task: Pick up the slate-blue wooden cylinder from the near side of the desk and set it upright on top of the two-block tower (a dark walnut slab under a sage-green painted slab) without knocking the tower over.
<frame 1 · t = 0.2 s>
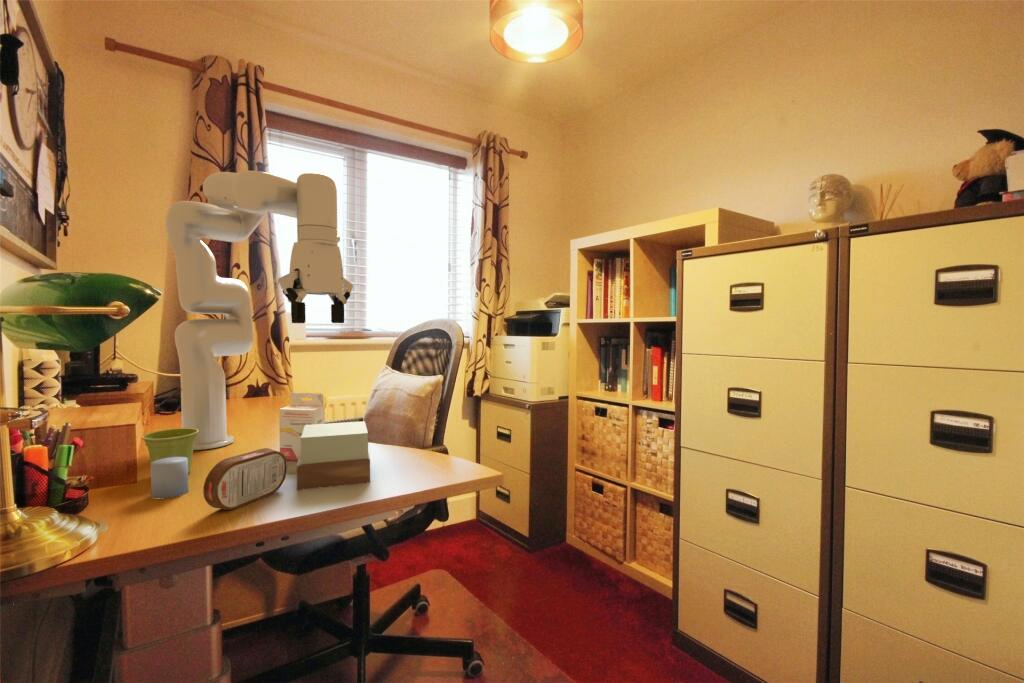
hand: (319, 323, 99), 31 cm above the table, tool pointing down, fingers open, 9 cm apart
walnut base block: (334, 477, 99), on the table, touching sage top block
ink cartridge box: (302, 459, 111), on the table
sage top block: (335, 453, 99), point 5 cm above the table, touching walnut base block
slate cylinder: (170, 493, 88), on the table
plant pot: (172, 476, 99), on the table
tin: (249, 502, 85), on the table
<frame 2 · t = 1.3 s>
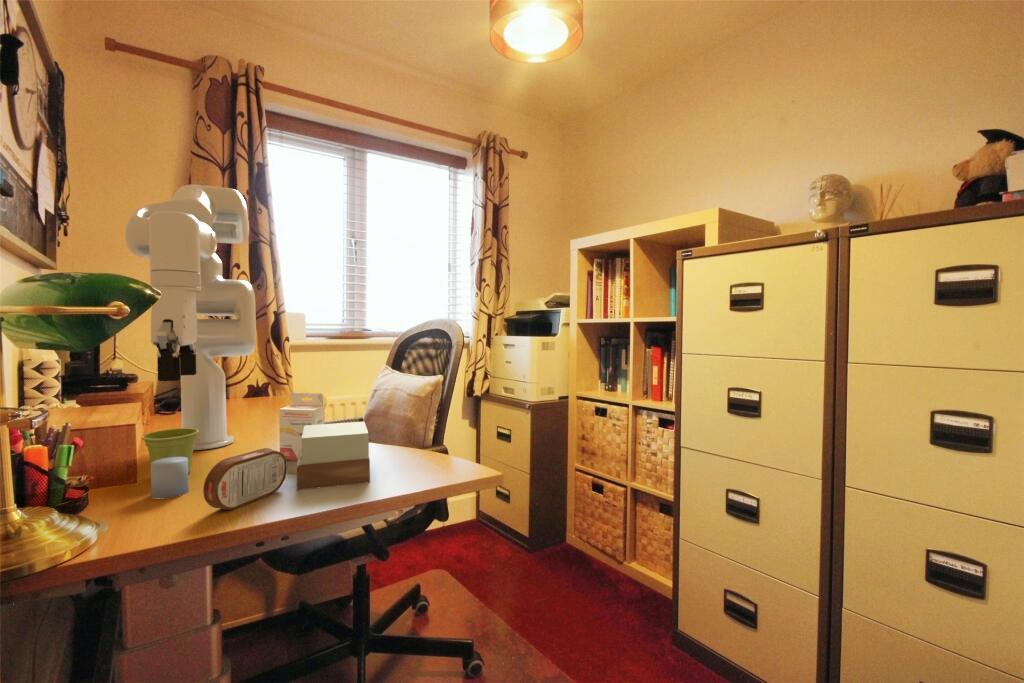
hand: (178, 377, 88), 21 cm above the table, tool pointing down, fingers open, 9 cm apart
nothing on the table moved.
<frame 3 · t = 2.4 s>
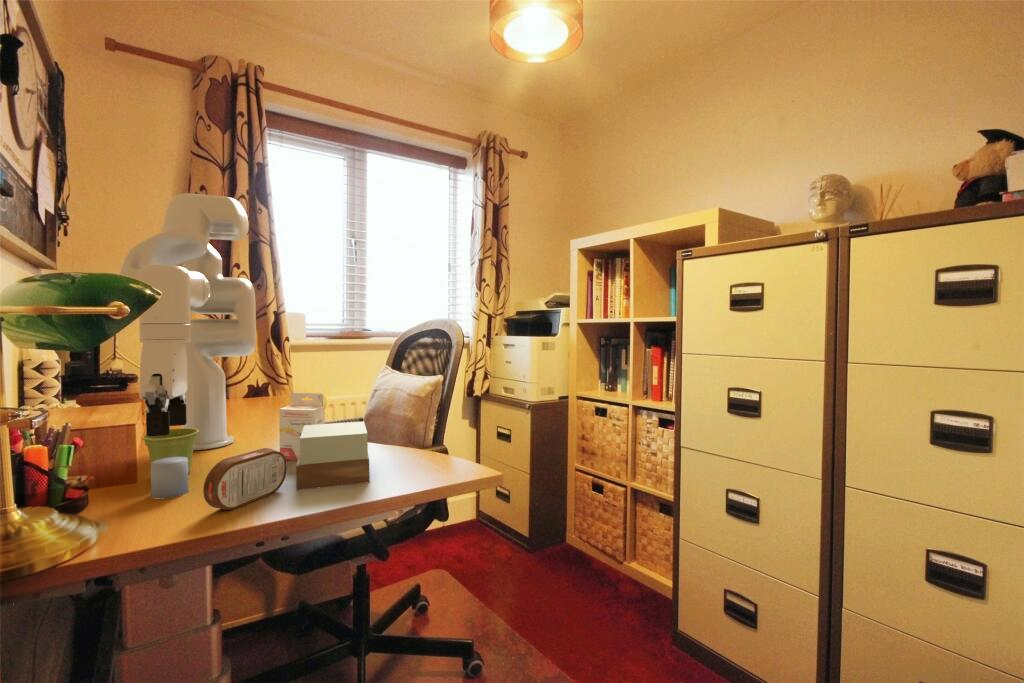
hand: (167, 430, 87), 12 cm above the table, tool pointing down, fingers open, 9 cm apart
nothing on the table moved.
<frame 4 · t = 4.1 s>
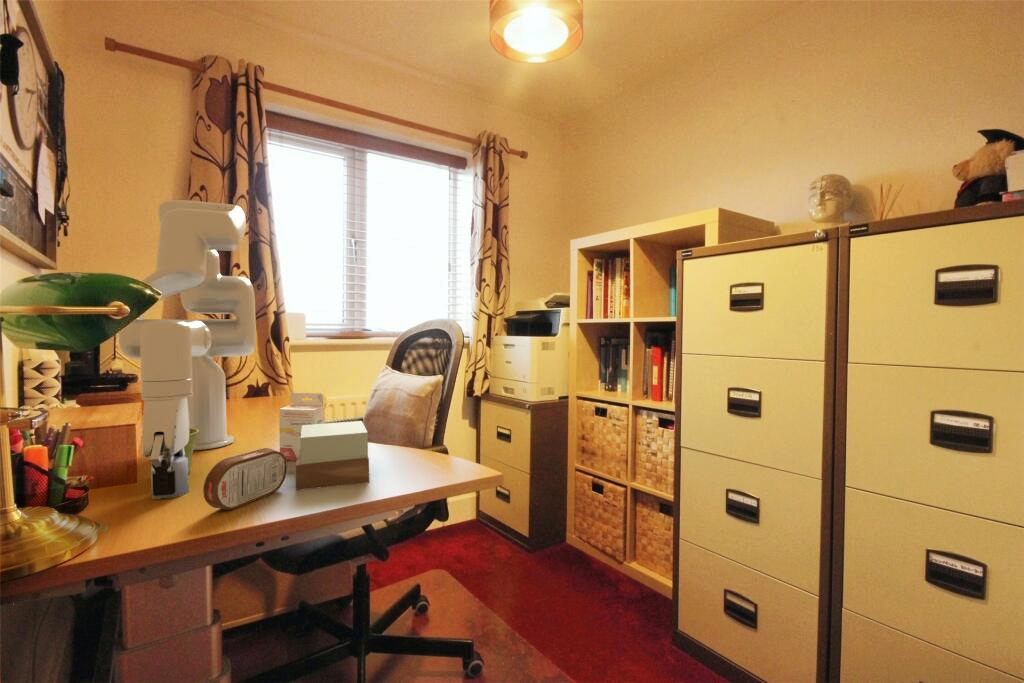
hand: (170, 487, 88), 1 cm above the table, tool pointing down, fingers closed on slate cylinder, 5 cm apart
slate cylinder: (170, 493, 88), on the table, touching gripper
everything else where it was.
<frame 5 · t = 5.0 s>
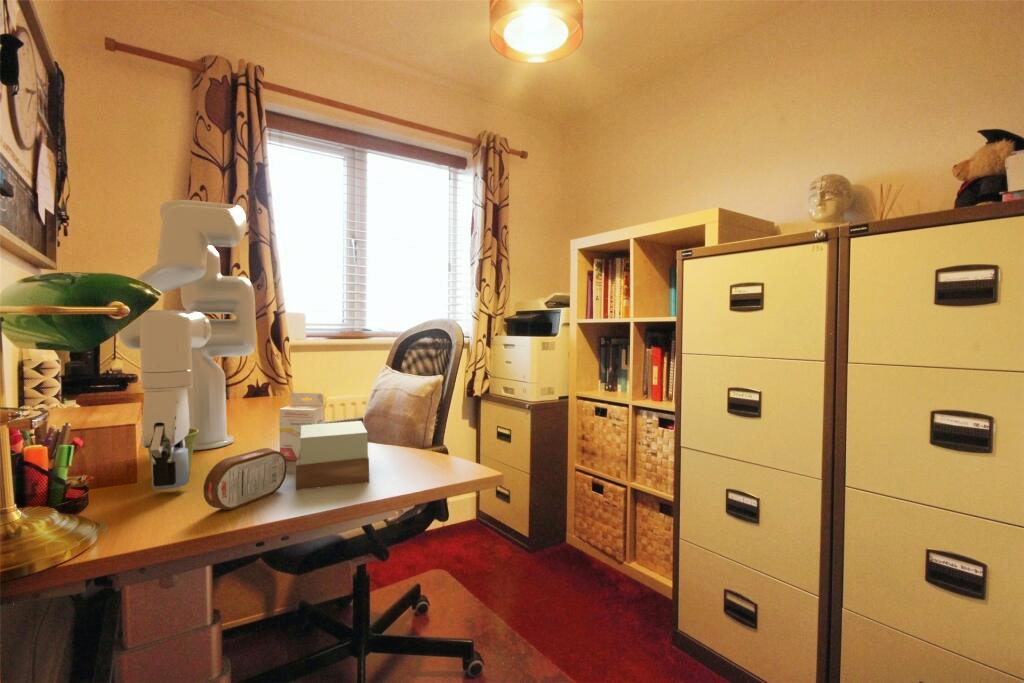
hand: (170, 478, 89), 3 cm above the table, tool pointing down, fingers closed on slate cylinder, 5 cm apart
walnut base block: (333, 477, 99), on the table
sage top block: (333, 453, 98), point 5 cm above the table
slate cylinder: (170, 484, 89), point 2 cm above the table, touching gripper
everything else where it was.
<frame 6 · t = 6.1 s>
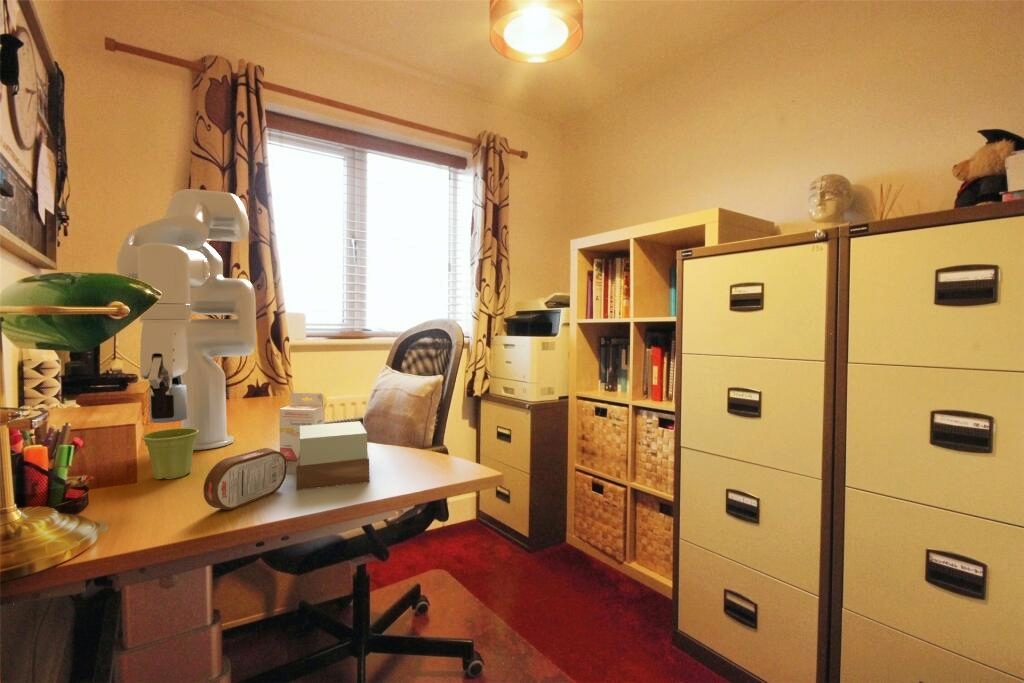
hand: (168, 413, 88), 15 cm above the table, tool pointing down, fingers closed on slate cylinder, 5 cm apart
walnut base block: (333, 477, 99), on the table, touching sage top block
sage top block: (332, 454, 98), point 5 cm above the table, touching walnut base block
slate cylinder: (169, 419, 88), point 13 cm above the table, touching gripper
everything else where it was.
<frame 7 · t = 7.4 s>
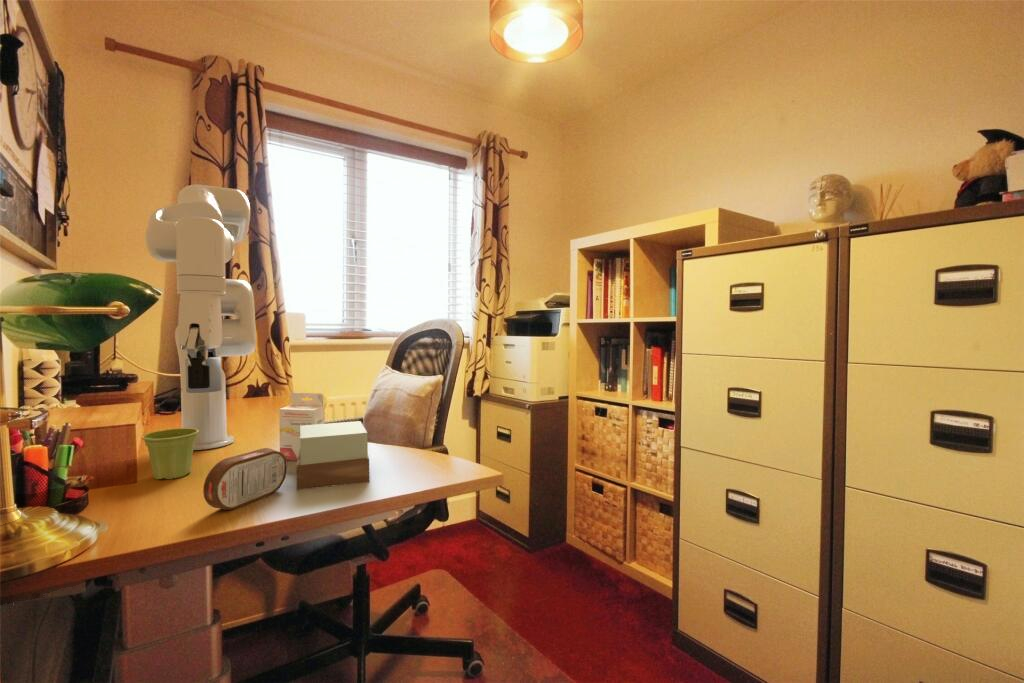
hand: (204, 384, 90), 19 cm above the table, tool pointing down, fingers closed on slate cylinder, 5 cm apart
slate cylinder: (204, 390, 90), point 18 cm above the table, touching gripper
everything else where it was.
when the fingers open (12 cm above the table, at t = 10.8 s): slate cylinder drops 2 cm, point 10 cm above the table.
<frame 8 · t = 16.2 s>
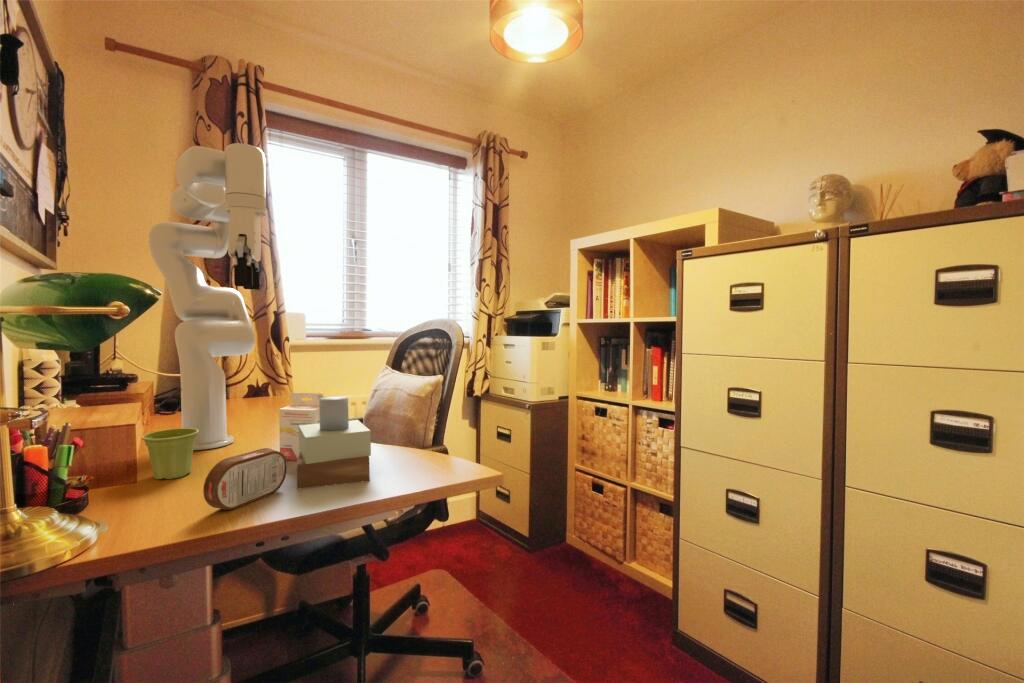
hand: (247, 287, 104), 38 cm above the table, tool pointing down, fingers open, 9 cm apart
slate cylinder: (334, 428, 99), point 10 cm above the table
at the end: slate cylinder inside the target area on the walnut base block (0.3 cm from its centre), point 10.0 cm above the walnut base block's base; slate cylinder tilted 0°; sage top block 0.1 cm off-centre on the walnut base block, point 5.0 cm above the walnut base block's base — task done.
